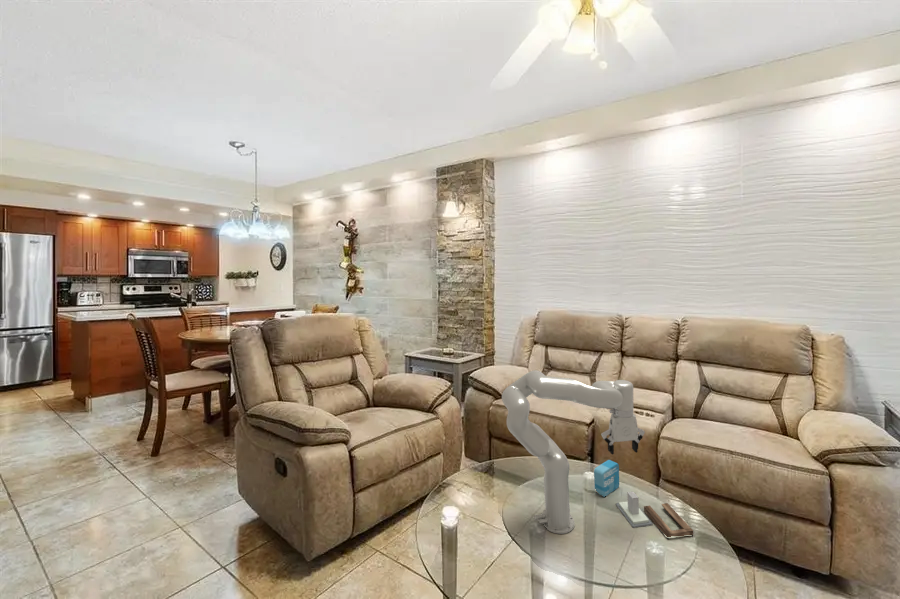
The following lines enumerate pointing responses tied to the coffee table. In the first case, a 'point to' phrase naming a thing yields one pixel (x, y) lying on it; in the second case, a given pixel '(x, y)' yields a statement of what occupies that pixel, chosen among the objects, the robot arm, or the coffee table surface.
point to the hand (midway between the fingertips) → (622, 451)
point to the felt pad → (630, 520)
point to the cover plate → (633, 517)
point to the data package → (606, 477)
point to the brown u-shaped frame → (663, 526)
